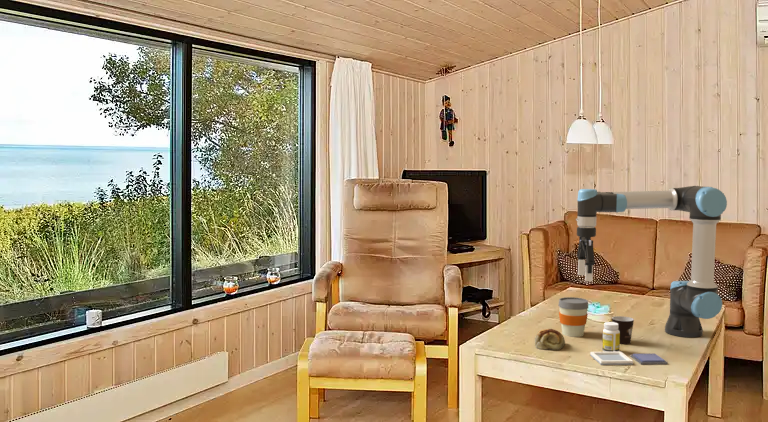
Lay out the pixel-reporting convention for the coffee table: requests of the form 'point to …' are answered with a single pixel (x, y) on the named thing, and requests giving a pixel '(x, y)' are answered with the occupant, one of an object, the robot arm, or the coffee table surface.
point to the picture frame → (611, 358)
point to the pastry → (549, 340)
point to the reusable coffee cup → (573, 315)
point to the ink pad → (648, 359)
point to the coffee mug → (624, 328)
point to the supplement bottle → (611, 337)
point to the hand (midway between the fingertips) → (585, 278)
